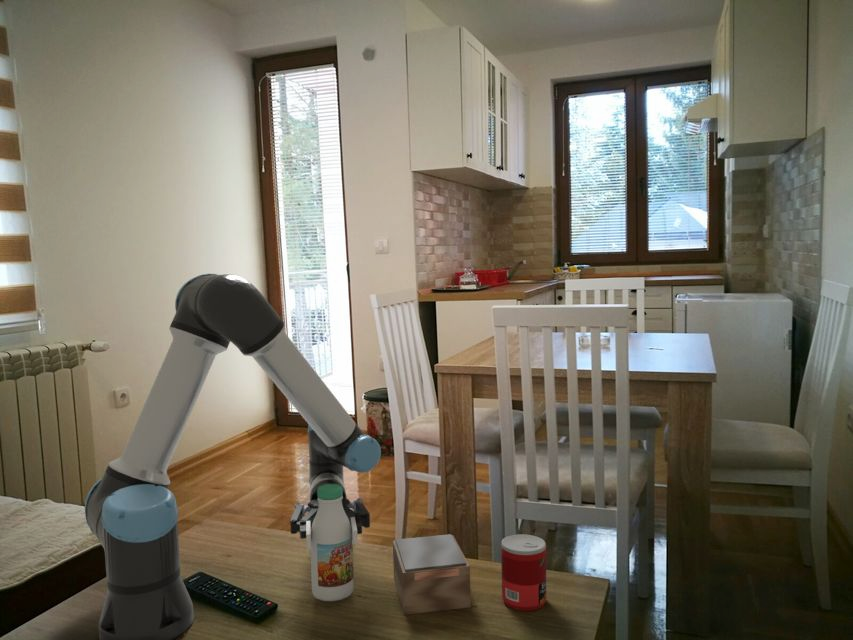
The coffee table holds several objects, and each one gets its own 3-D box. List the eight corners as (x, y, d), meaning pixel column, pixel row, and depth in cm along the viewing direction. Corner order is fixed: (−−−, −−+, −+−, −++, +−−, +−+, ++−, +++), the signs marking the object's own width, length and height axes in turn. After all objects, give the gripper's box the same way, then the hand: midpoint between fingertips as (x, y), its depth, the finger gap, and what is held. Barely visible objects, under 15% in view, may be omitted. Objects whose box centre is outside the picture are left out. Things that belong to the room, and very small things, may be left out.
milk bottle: (304, 598, 122) (300, 491, 120) (324, 579, 129) (321, 478, 128) (341, 605, 119) (338, 496, 118) (360, 585, 127) (358, 482, 125)
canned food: (549, 611, 118) (549, 551, 117) (504, 612, 118) (503, 551, 117) (543, 590, 125) (542, 533, 124) (500, 590, 125) (499, 534, 124)
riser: (404, 615, 117) (403, 571, 117) (393, 578, 131) (392, 538, 131) (470, 607, 120) (470, 564, 119) (453, 571, 134) (452, 532, 133)
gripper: (376, 509, 143) (389, 555, 121) (279, 517, 140) (273, 565, 117) (375, 475, 142) (388, 514, 120) (277, 482, 139) (272, 524, 116)
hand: (332, 539), depth 119 cm, fingers closed on milk bottle, 7 cm apart
